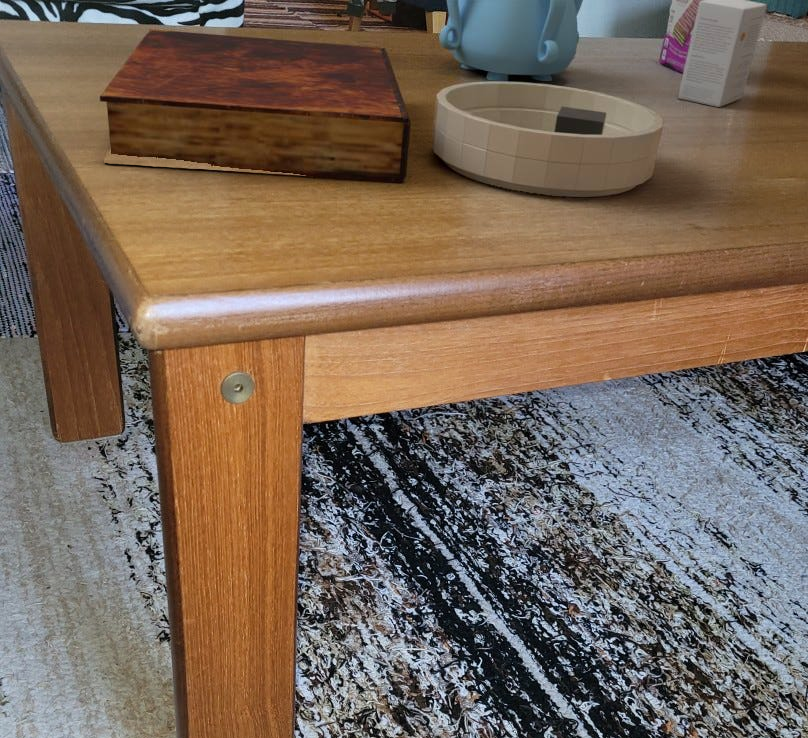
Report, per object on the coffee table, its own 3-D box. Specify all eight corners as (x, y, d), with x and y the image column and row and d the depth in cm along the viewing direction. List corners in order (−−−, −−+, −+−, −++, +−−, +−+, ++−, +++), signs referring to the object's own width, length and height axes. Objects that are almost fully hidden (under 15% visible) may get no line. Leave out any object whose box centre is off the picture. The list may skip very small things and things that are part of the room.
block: (597, 159, 89) (606, 112, 86) (594, 170, 86) (604, 122, 83) (553, 153, 89) (561, 106, 87) (548, 164, 86) (556, 115, 84)
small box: (700, 90, 124) (723, -5, 118) (743, 99, 121) (768, 3, 115) (675, 98, 118) (698, -1, 112) (719, 108, 116) (745, 7, 110)
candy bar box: (655, 63, 137) (685, -75, 128) (687, 64, 139) (718, -72, 129) (696, 81, 129) (731, -66, 119) (729, 82, 130) (766, -63, 121)
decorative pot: (588, 75, 126) (610, -48, 118) (547, 94, 114) (569, -42, 106) (471, 54, 131) (485, -65, 123) (420, 70, 119) (431, -61, 111)
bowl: (652, 155, 95) (664, 100, 92) (647, 214, 79) (661, 149, 76) (453, 126, 97) (459, 72, 95) (410, 178, 82) (415, 114, 79)
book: (406, 183, 81) (411, 118, 78) (104, 164, 78) (97, 96, 75) (383, 99, 104) (386, 48, 102) (151, 83, 102) (148, 29, 99)
